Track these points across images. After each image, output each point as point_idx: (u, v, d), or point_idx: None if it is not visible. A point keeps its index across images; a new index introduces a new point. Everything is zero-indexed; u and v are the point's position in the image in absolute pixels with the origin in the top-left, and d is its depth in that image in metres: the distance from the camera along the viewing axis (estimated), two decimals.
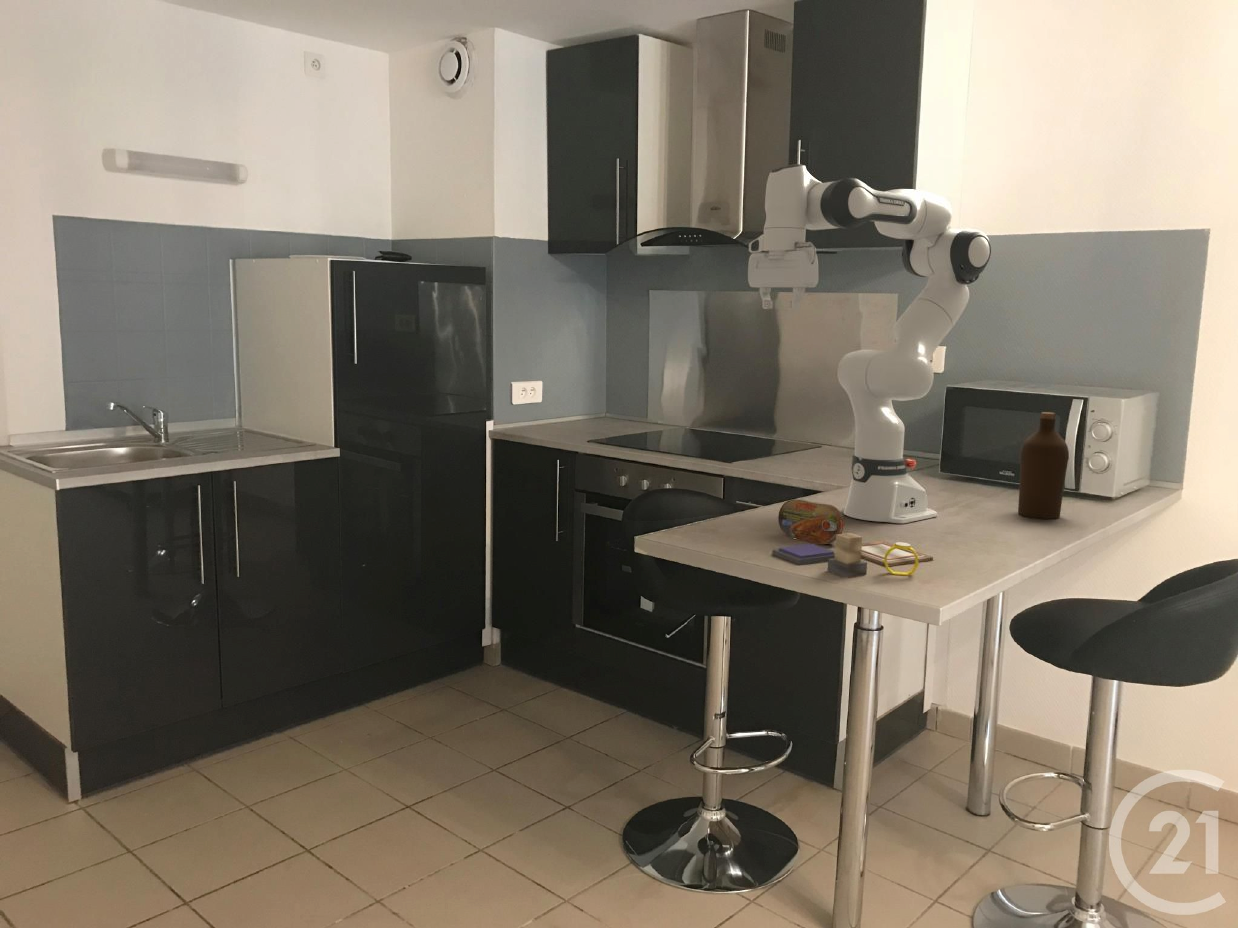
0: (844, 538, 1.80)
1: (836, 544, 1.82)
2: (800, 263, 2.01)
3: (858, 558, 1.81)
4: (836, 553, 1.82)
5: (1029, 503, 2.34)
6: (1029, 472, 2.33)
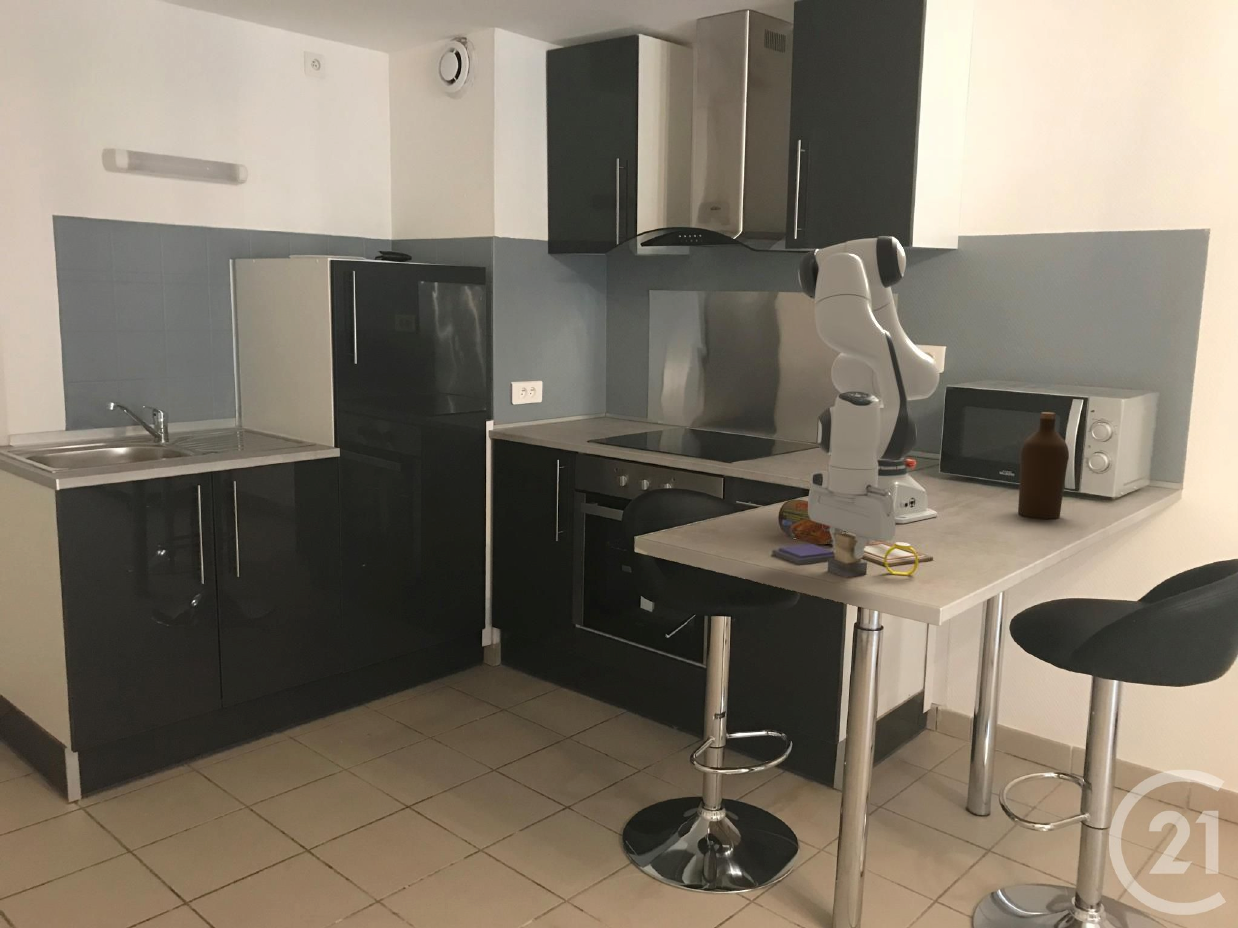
0: (844, 538, 1.80)
1: (836, 544, 1.82)
2: (874, 514, 1.72)
3: None
4: (836, 553, 1.82)
5: (1029, 503, 2.34)
6: (1029, 472, 2.33)
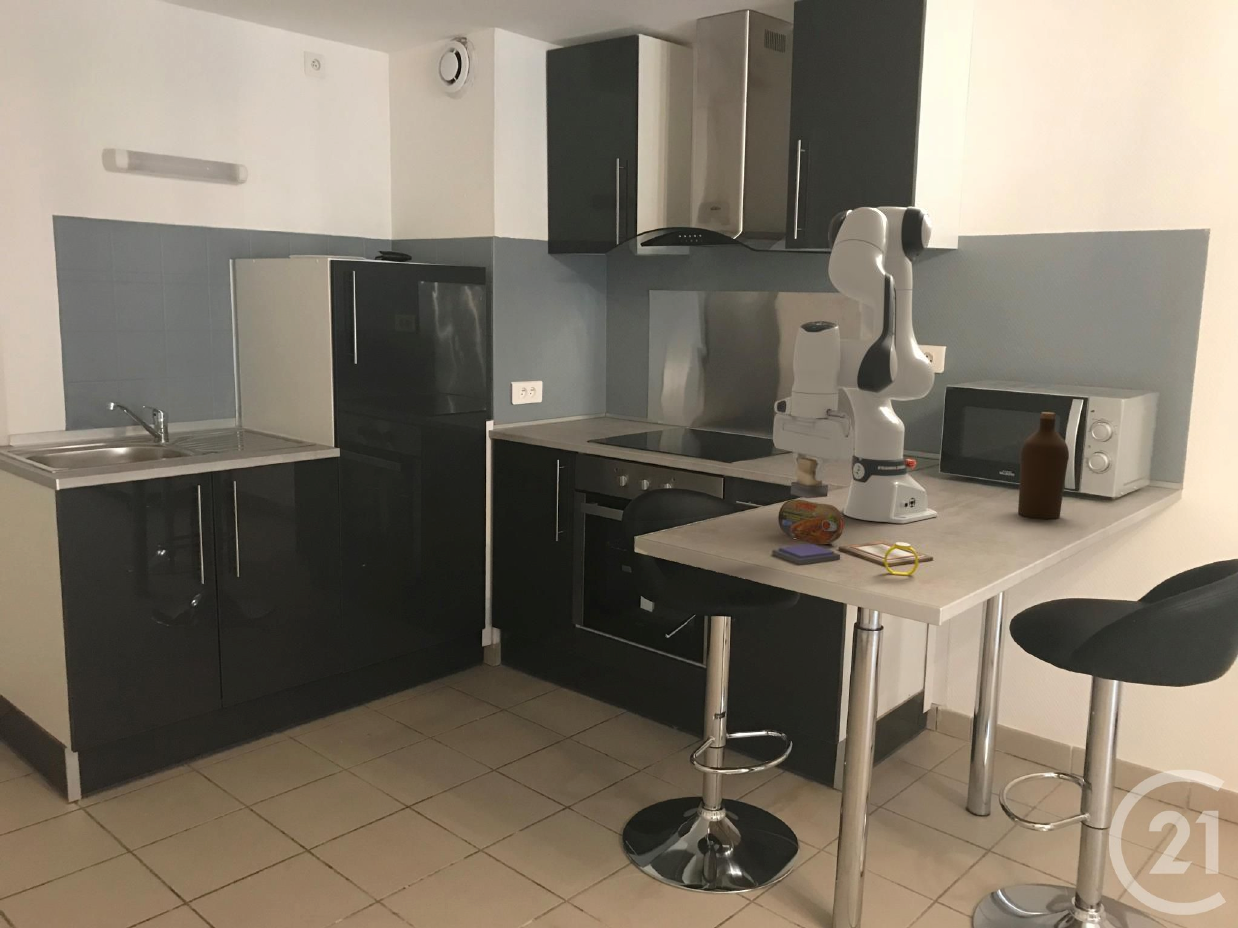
0: (806, 461, 1.88)
1: (798, 467, 1.90)
2: (833, 436, 1.81)
3: None
4: (798, 476, 1.90)
5: (1029, 503, 2.34)
6: (1029, 472, 2.33)
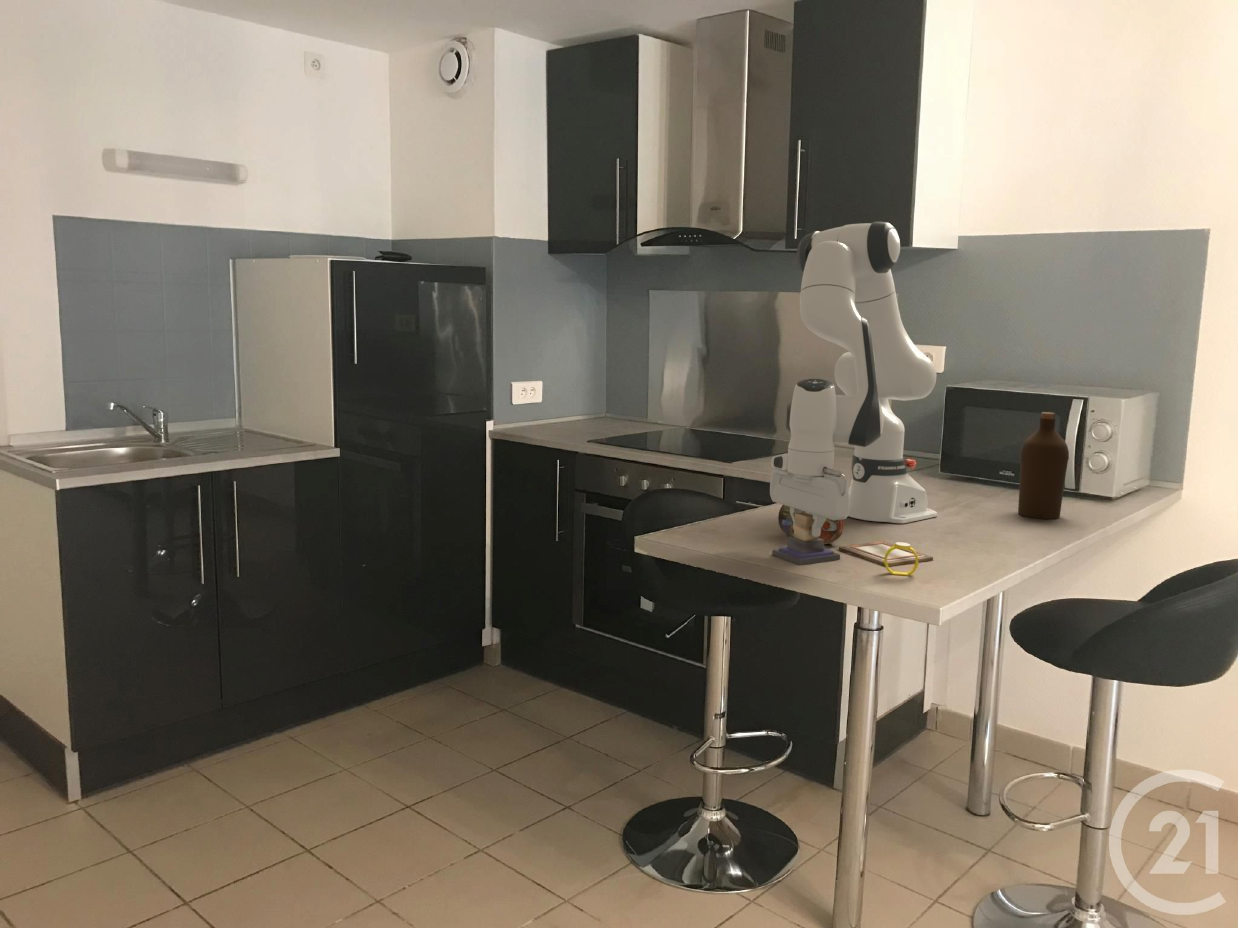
0: (802, 516, 1.90)
1: (795, 522, 1.92)
2: (829, 494, 1.83)
3: None
4: (795, 531, 1.92)
5: (1029, 503, 2.34)
6: (1029, 472, 2.33)
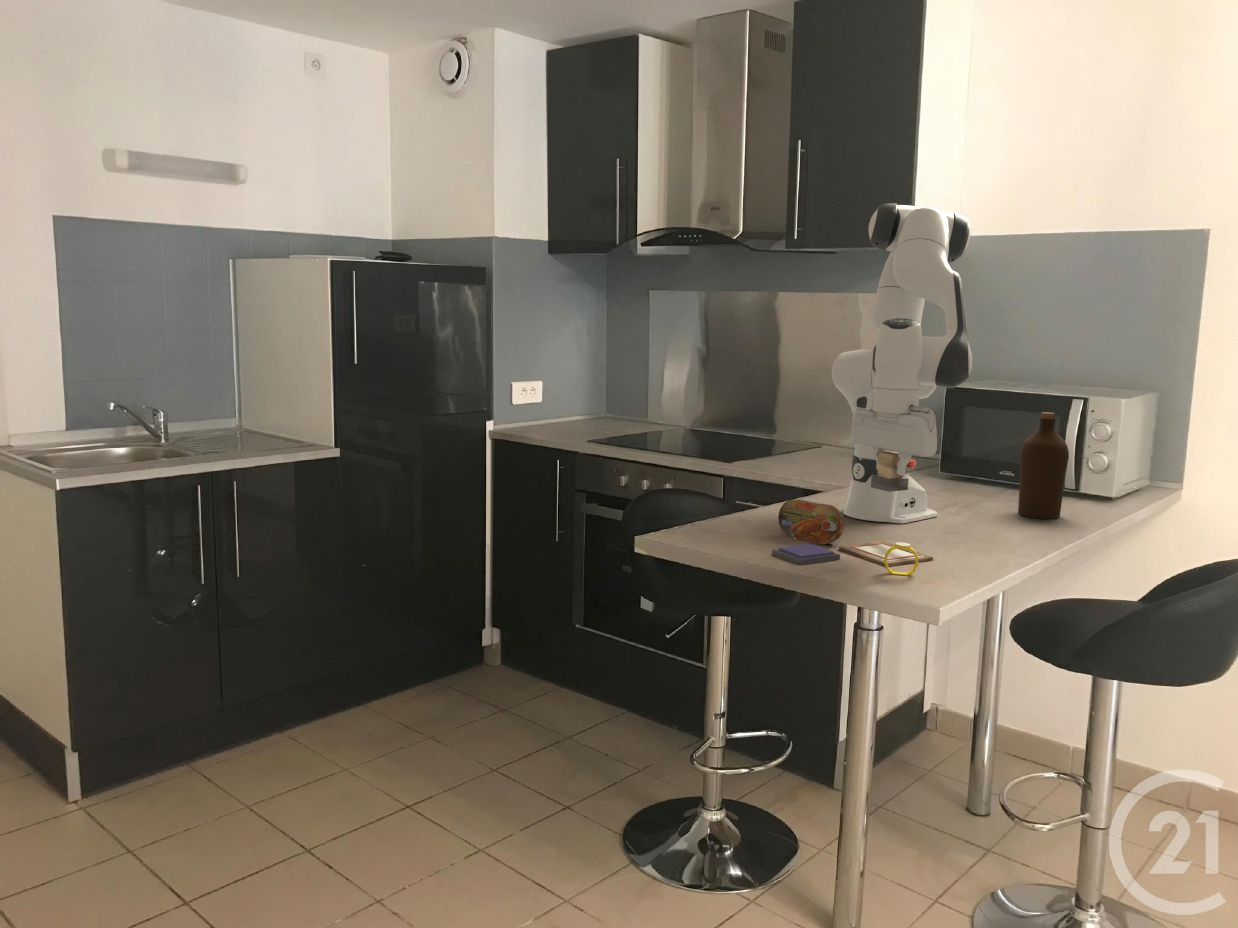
0: (887, 455, 1.91)
1: (879, 461, 1.93)
2: (917, 431, 1.84)
3: None
4: (879, 470, 1.93)
5: (1029, 503, 2.34)
6: (1029, 472, 2.33)
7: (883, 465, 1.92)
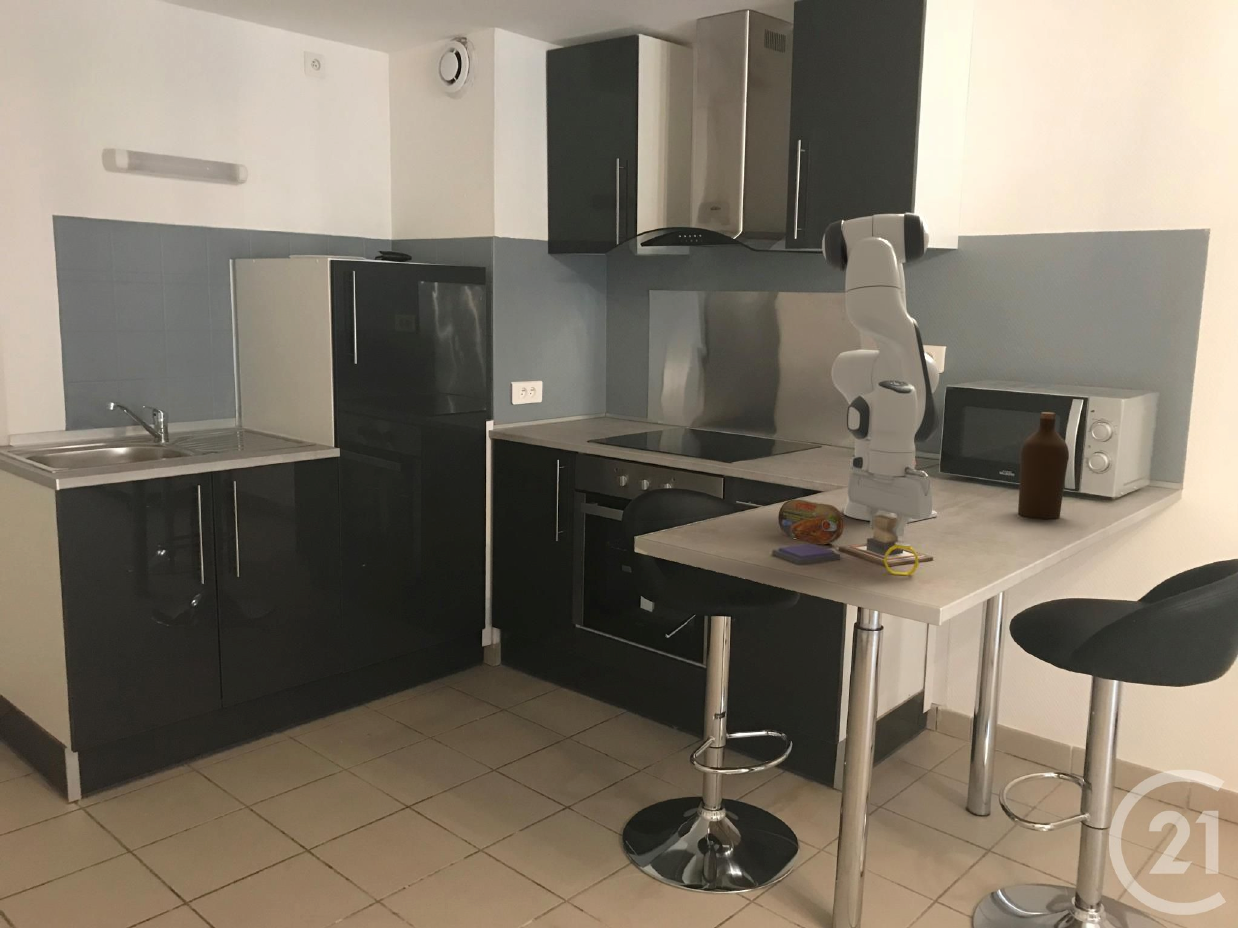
0: (882, 519, 1.93)
1: (875, 524, 1.95)
2: (912, 494, 1.86)
3: (895, 537, 1.94)
4: (875, 533, 1.96)
5: (1029, 503, 2.34)
6: (1029, 472, 2.33)
7: (878, 528, 1.94)
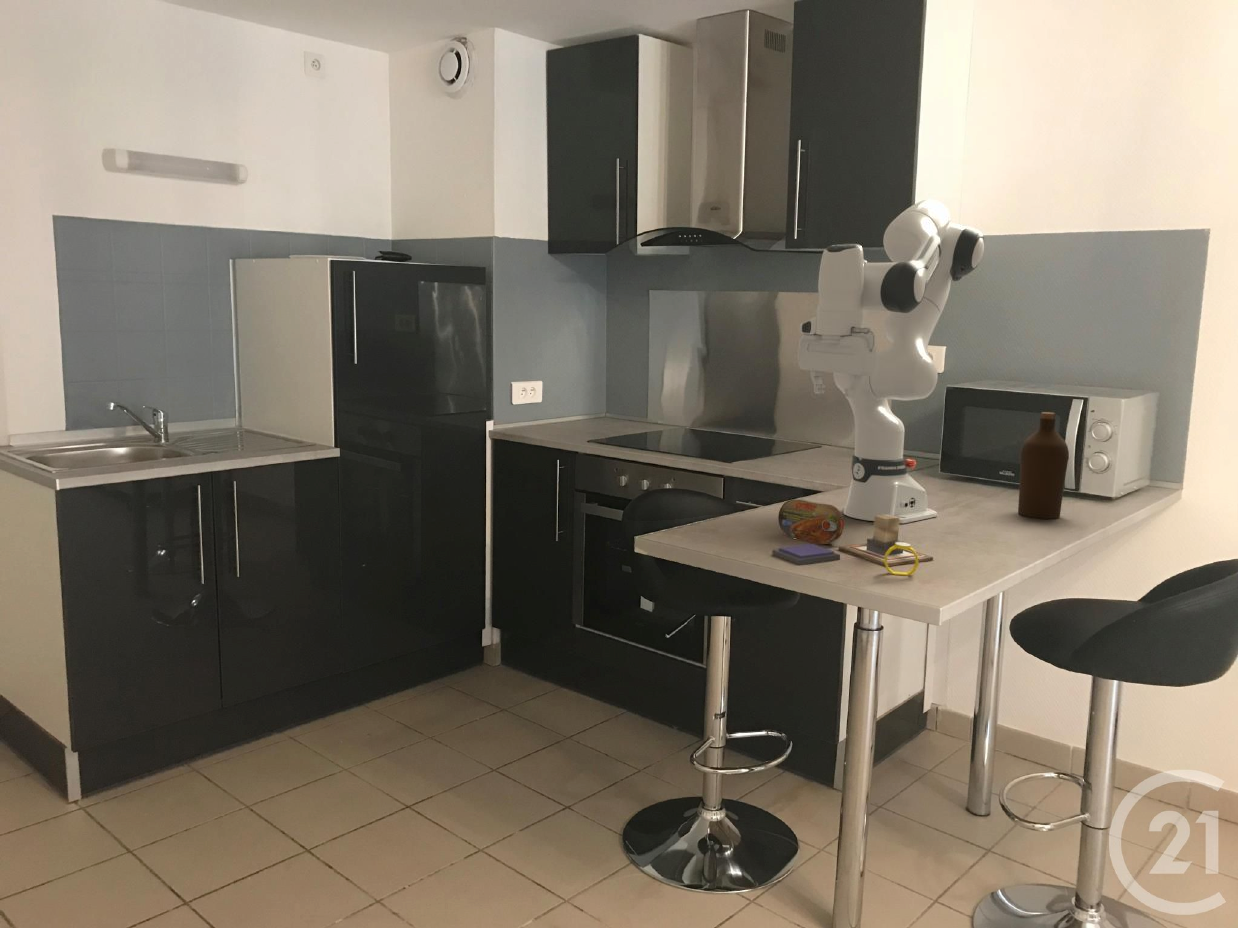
0: (882, 519, 1.93)
1: (875, 524, 1.95)
2: (857, 351, 1.88)
3: (895, 537, 1.94)
4: (875, 533, 1.96)
5: (1029, 503, 2.34)
6: (1029, 472, 2.33)
7: (878, 528, 1.94)
